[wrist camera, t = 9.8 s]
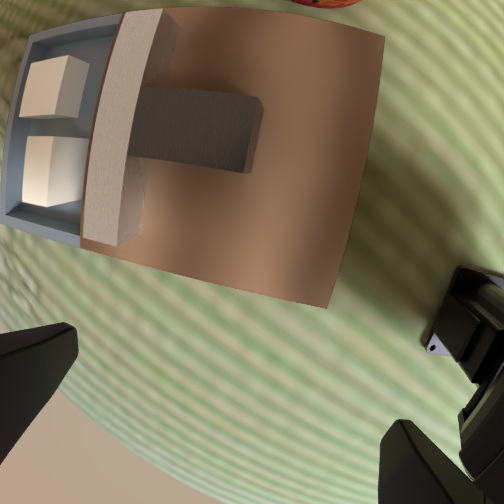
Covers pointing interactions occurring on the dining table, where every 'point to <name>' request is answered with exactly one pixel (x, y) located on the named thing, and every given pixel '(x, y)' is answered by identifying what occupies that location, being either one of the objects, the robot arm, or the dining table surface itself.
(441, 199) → the dining table surface
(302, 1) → the canned food
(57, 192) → the tile
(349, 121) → the plate
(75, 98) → the tile
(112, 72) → the scraper
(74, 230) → the box
